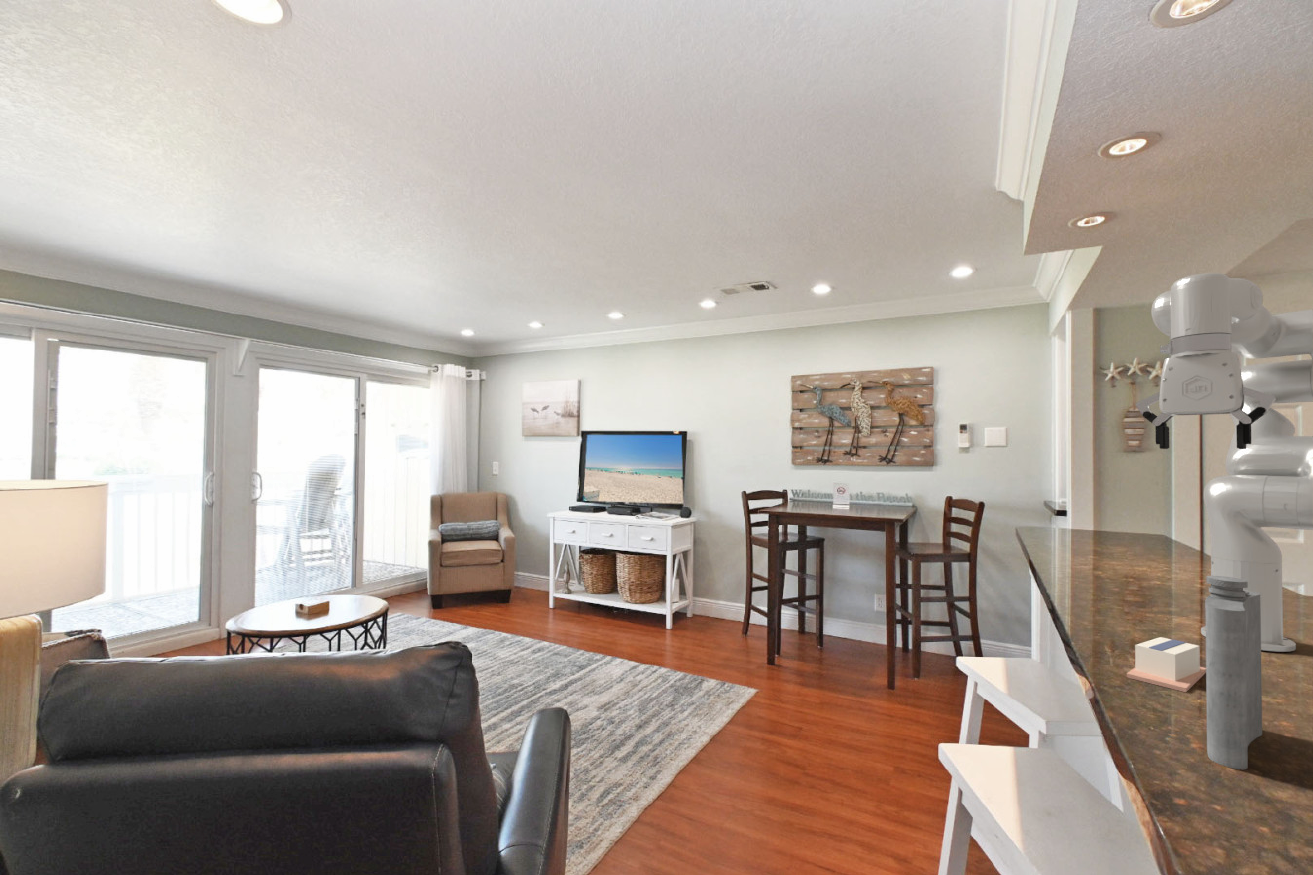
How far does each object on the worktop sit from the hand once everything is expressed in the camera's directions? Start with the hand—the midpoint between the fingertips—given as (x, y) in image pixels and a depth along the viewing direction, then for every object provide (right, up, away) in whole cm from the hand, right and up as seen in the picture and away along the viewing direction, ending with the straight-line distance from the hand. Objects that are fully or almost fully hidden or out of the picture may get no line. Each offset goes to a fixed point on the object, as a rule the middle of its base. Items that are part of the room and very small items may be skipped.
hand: (1201, 448), depth 98 cm
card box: (-11, -35, -6) cm, 37 cm away
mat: (-11, -36, -6) cm, 38 cm away
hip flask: (-23, -35, -28) cm, 51 cm away
